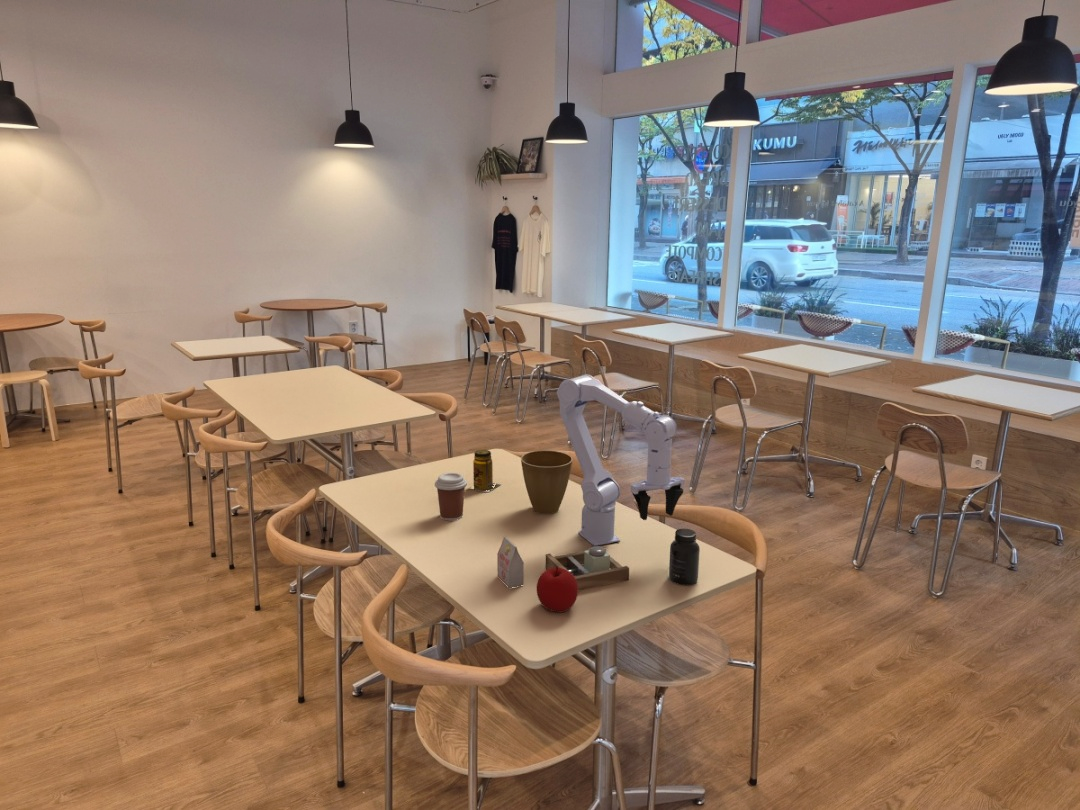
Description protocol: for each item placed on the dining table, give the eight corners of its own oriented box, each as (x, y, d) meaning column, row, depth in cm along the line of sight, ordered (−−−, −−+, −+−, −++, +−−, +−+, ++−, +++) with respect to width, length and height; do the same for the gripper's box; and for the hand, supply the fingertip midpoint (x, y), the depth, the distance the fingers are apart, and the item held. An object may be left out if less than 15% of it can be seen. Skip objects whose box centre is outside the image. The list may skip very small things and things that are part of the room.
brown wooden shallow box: (545, 569, 177) (545, 554, 176) (603, 558, 184) (603, 543, 183) (567, 592, 166) (568, 576, 165) (628, 579, 173) (629, 564, 172)
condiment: (468, 489, 231) (467, 452, 228) (482, 481, 238) (482, 445, 235) (487, 493, 228) (487, 456, 225) (501, 485, 235) (501, 449, 232)
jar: (584, 570, 177) (584, 547, 176) (600, 567, 179) (600, 544, 178) (592, 578, 173) (593, 555, 172) (609, 575, 175) (610, 552, 174)
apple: (586, 606, 161) (587, 564, 158) (559, 622, 154) (560, 579, 152) (554, 592, 166) (555, 552, 164) (527, 607, 160) (527, 565, 158)
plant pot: (510, 508, 215) (510, 456, 211) (547, 496, 225) (548, 447, 221) (544, 524, 204) (544, 469, 201) (582, 510, 214) (583, 458, 210)
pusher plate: (553, 571, 177) (553, 559, 176) (571, 567, 179) (571, 556, 178) (570, 588, 168) (570, 576, 168) (589, 584, 170) (589, 572, 170)
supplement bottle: (677, 569, 178) (681, 523, 175) (703, 578, 174) (706, 531, 171) (662, 579, 173) (665, 532, 170) (688, 589, 169) (691, 541, 166)
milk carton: (511, 573, 175) (511, 535, 173) (523, 586, 169) (523, 546, 167) (497, 576, 174) (497, 537, 171) (509, 589, 168) (508, 549, 165)
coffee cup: (451, 525, 203) (451, 484, 200) (428, 517, 208) (427, 477, 205) (474, 515, 210) (473, 475, 207) (451, 507, 215) (450, 469, 213)
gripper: (642, 473, 174) (639, 526, 177) (693, 466, 180) (689, 517, 183) (627, 464, 180) (625, 516, 183) (676, 457, 186) (673, 507, 189)
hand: (656, 516), depth 184 cm, fingers open, 7 cm apart
